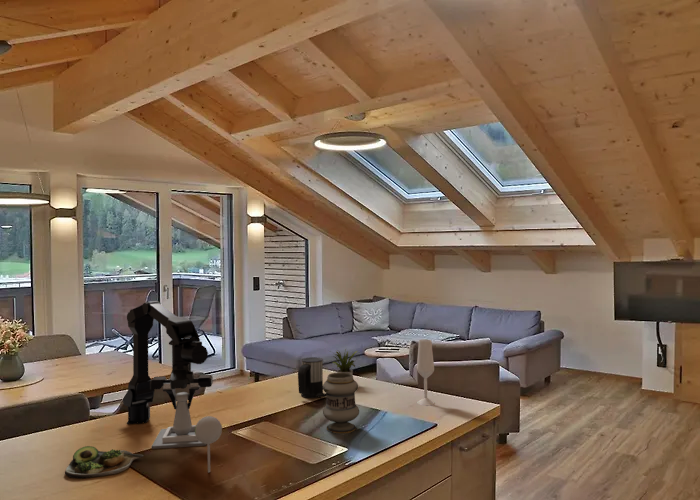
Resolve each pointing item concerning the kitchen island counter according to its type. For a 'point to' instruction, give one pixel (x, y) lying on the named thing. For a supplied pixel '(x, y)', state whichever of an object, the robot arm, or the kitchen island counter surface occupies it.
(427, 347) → the champagne flute
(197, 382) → the robot arm
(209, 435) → the lollipop
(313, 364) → the milk frother
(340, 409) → the apothecary jar
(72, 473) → the salad plate
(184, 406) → the salt shaker
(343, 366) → the house plant
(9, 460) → the kitchen island counter surface
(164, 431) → the socket board
